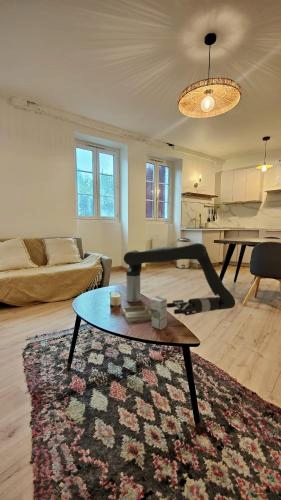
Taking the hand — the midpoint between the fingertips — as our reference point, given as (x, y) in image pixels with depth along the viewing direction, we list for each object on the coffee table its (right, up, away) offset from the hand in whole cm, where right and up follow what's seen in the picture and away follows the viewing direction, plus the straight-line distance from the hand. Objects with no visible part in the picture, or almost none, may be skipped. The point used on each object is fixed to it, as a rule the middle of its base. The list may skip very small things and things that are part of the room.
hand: (170, 308), depth 110 cm
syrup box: (-6, -9, -1) cm, 11 cm away
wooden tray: (-17, -7, +11) cm, 22 cm away
